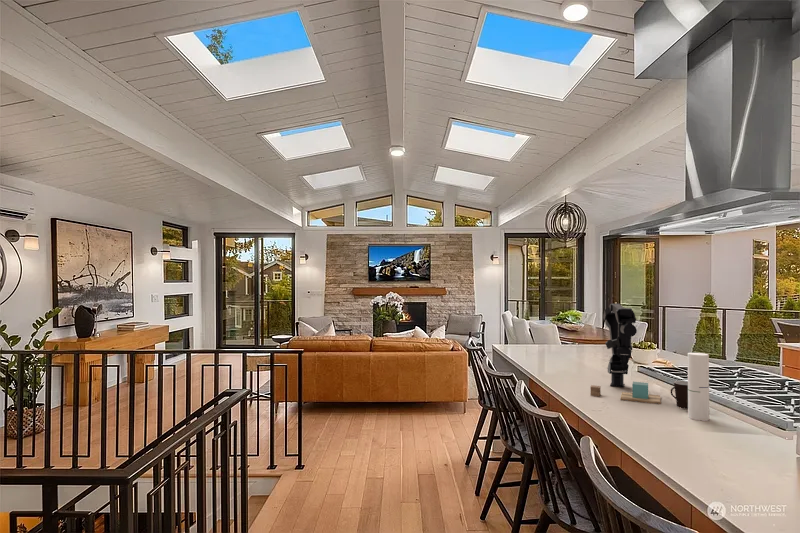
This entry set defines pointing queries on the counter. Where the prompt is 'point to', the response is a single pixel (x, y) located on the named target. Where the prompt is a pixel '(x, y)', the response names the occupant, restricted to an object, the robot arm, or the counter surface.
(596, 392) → the walnut block
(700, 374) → the cylindrical container
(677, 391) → the coffee mug
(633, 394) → the tilted teal cube
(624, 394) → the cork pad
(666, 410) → the counter surface
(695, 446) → the counter surface
